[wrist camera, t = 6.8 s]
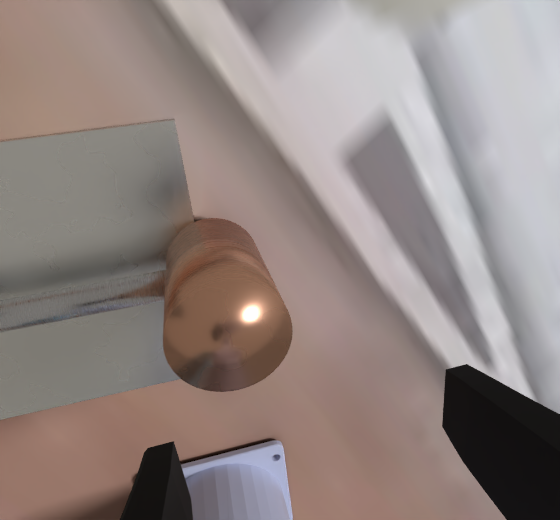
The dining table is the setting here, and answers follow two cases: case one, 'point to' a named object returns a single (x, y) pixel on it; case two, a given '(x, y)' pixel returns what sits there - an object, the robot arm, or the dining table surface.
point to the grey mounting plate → (87, 257)
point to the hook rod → (189, 307)
